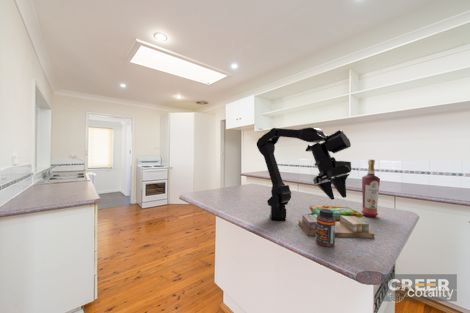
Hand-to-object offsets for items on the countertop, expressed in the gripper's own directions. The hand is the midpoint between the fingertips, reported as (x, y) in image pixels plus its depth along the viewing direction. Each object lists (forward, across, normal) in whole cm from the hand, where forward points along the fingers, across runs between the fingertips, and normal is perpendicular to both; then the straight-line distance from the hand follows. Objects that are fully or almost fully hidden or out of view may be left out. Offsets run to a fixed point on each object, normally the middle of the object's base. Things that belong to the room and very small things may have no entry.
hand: (338, 198), depth 71 cm
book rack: (+12, +12, +1) cm, 16 cm away
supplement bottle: (+13, 0, +10) cm, 16 cm away
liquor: (+13, +32, -26) cm, 43 cm away
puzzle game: (+9, +28, -8) cm, 30 cm away
